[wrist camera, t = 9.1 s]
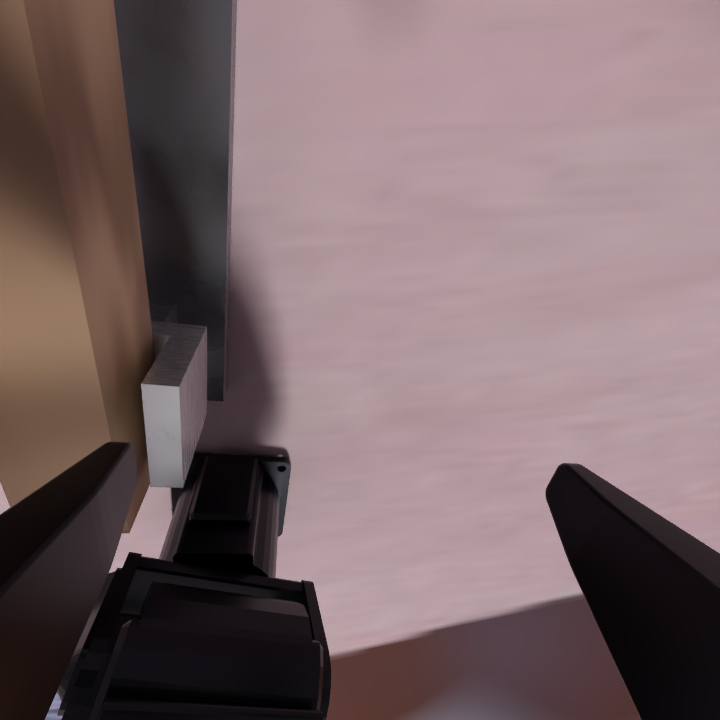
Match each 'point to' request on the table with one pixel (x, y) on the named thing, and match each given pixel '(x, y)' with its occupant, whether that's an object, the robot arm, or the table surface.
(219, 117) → the bracket stand
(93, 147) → the rail
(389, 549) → the table surface
